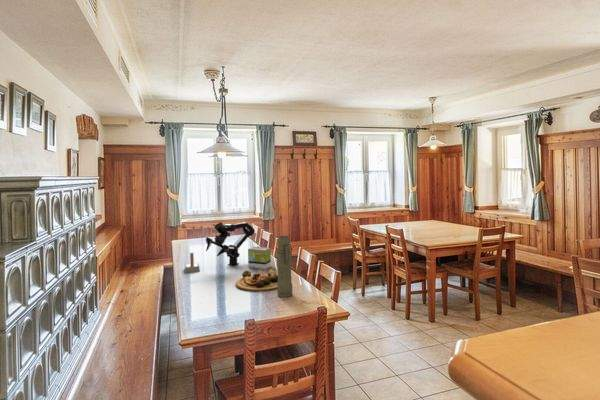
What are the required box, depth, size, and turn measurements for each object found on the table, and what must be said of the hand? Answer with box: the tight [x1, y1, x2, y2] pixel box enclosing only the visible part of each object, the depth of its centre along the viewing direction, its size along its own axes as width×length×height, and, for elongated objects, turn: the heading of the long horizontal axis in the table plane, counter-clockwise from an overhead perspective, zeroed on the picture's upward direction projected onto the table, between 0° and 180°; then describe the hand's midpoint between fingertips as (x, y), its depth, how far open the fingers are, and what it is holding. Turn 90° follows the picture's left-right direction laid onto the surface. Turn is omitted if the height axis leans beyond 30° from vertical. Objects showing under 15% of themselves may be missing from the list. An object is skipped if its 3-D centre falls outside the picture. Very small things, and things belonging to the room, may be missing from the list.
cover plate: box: [185, 252, 198, 267], centre depth 284 cm, size 10×8×11 cm
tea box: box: [247, 246, 272, 270], centre depth 290 cm, size 15×10×15 cm
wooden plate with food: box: [235, 268, 278, 293], centre depth 245 cm, size 32×32×8 cm
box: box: [184, 262, 200, 273], centre depth 284 cm, size 12×10×4 cm
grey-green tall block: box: [276, 235, 294, 299], centre depth 220 cm, size 9×12×35 cm
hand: (211, 253), depth 280 cm, fingers open, 9 cm apart
